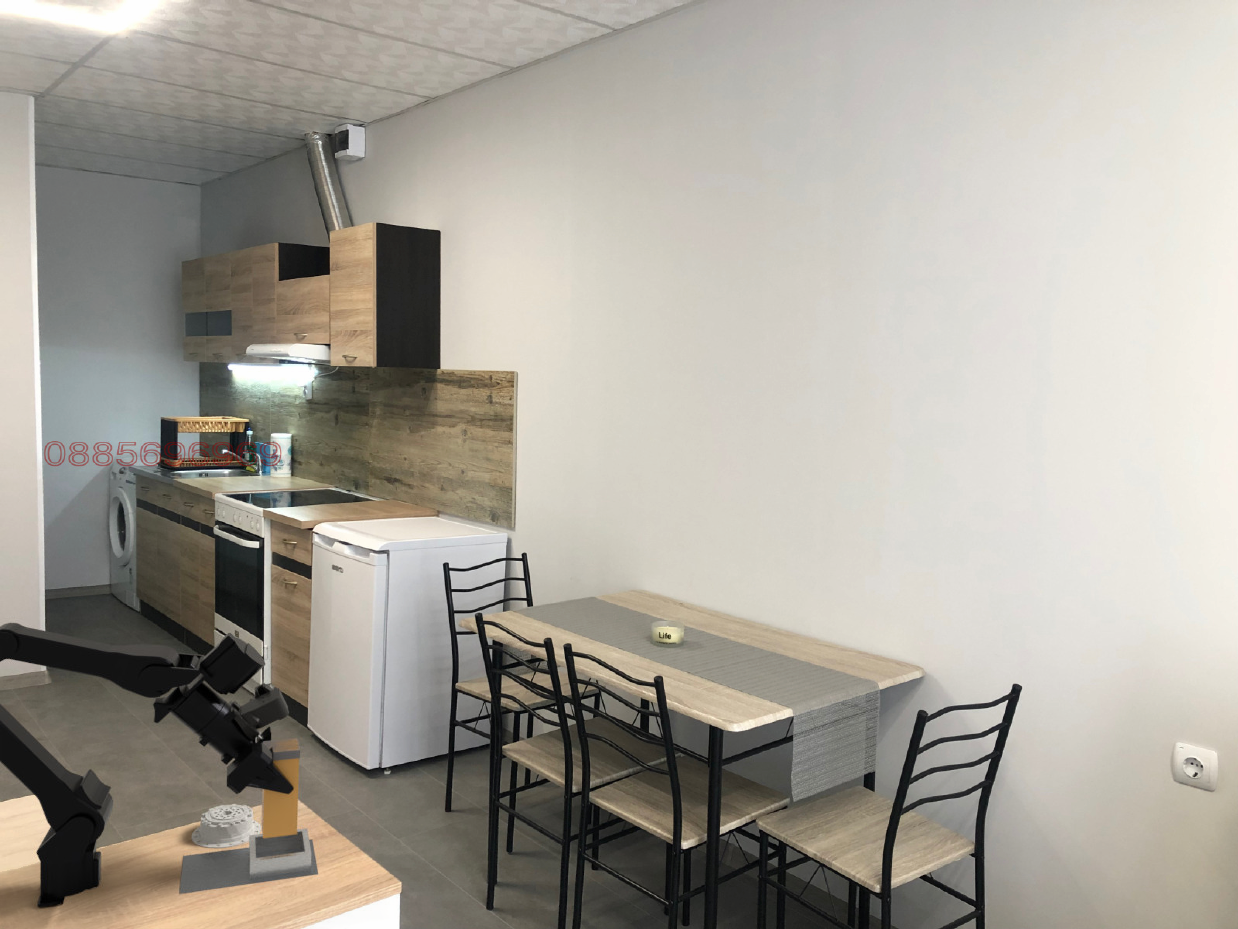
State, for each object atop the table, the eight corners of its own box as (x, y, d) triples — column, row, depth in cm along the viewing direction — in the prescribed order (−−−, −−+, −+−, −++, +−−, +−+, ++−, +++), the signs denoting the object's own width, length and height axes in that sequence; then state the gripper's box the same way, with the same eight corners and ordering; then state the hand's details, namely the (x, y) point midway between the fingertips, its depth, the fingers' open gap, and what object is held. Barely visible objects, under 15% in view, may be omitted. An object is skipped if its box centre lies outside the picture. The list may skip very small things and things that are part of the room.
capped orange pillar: (262, 839, 134) (264, 753, 134) (260, 824, 139) (263, 741, 138) (297, 834, 136) (300, 750, 135) (295, 820, 141) (297, 738, 140)
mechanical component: (179, 841, 145) (212, 863, 139) (179, 813, 145) (212, 834, 139) (240, 820, 153) (273, 840, 147) (240, 793, 153) (274, 813, 146)
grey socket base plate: (179, 900, 128) (179, 876, 128) (183, 862, 138) (183, 839, 138) (318, 880, 135) (318, 857, 135) (312, 845, 145) (312, 823, 145)
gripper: (255, 694, 126) (339, 766, 131) (252, 656, 143) (326, 721, 148) (189, 757, 123) (277, 829, 128) (194, 711, 141) (271, 775, 146)
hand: (290, 784), depth 138 cm, fingers closed on capped orange pillar, 5 cm apart
